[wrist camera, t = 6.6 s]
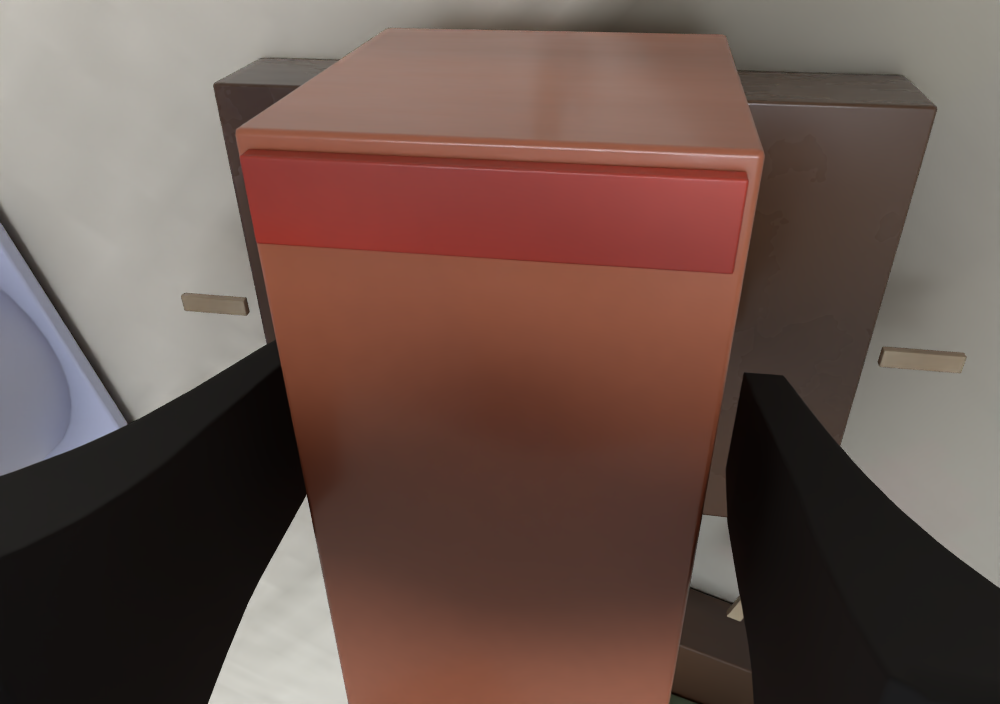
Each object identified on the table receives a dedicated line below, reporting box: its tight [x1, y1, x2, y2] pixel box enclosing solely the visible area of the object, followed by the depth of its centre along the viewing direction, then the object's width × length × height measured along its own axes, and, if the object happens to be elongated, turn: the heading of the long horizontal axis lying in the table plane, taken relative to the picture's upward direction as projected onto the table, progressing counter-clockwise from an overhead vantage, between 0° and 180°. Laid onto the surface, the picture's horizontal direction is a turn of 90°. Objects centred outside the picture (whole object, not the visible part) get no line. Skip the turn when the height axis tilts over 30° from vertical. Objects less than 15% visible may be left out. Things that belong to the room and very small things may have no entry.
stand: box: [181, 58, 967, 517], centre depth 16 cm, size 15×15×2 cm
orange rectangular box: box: [235, 28, 765, 704], centre depth 13 cm, size 11×5×6 cm, turn 1°
